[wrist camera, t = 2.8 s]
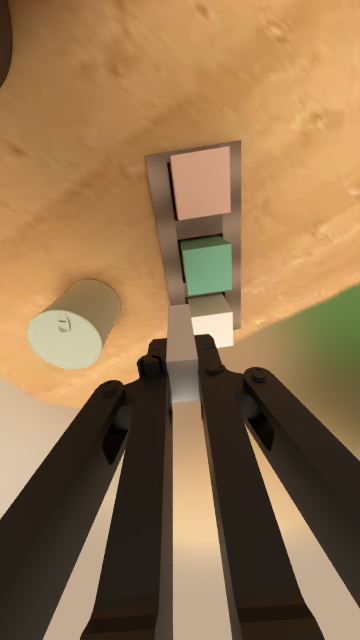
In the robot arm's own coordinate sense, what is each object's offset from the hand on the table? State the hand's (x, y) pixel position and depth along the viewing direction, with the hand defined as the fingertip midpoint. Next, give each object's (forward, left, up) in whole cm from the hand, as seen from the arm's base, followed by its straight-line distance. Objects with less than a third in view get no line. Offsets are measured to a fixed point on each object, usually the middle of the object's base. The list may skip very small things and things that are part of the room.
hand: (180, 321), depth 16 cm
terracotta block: (-9, +4, -17) cm, 20 cm away
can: (+6, -15, -20) cm, 26 cm away
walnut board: (0, +4, -20) cm, 20 cm away
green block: (0, +4, -17) cm, 18 cm away
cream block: (+8, +4, -17) cm, 19 cm away
